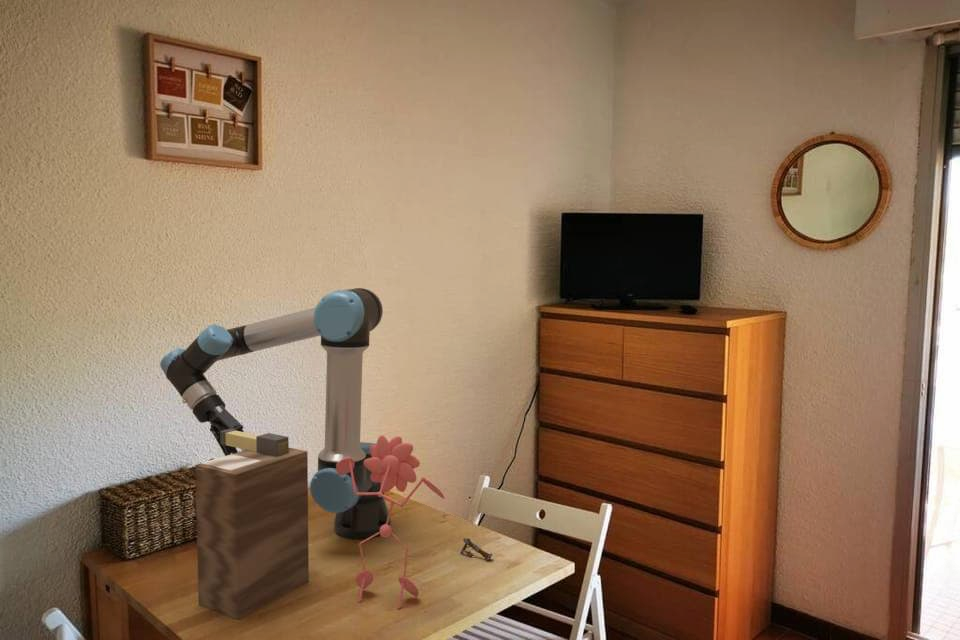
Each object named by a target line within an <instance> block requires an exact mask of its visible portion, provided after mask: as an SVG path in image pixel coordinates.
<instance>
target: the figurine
mask: <svg viewBox="0 0 960 640" xmlns="http://www.w3.org/2000/svg"><path fill="white" fill-rule="evenodd" d="M376 444H377V445H371V446H370V454H371V456H372V458H368V459H366V460H364V465H365V467H366V468H367V469H368V470H370V471H371V472H372V473H371V476H370V478H371V480H372V481H373V482H381V485H380V487H381V489H380V492H372V493H356V486H355V480H354V474H353V468H354V466H355V463H354V460H353V459H352V458H351V457H348V458H343V459H342V460H340V461H339V462H338V463H337V465H336V471H337V473H338V475H339V476H341V475H344V474H346V473H349V472H351V478H352V484H353V490H354V493H355V495H377V496H378V497H383V498H384V499H385V501H386V500H387V501H388V502H390V507H389V509H388V512H389V514H388V518H387V522H386V524H385V525H383V526H381V528H380V531H379V532H378V533H376V534H375V535H373V536H371V537H369V538H365V539H364V540H362V541H361V542H359V551H360V557H361V563H362V568H363V571H362V570H361V571H360V572H358V574H357V575H356V577H355V584H356V585H357V586H358V587H359V588H360V591H359V596H358V603H359V602H360V603H361V602H362V598H363V592H364V590H365V589H367V588H368V587H369V586H371V584H372V583H373V581H374V578H376V577H377V578H378V577H379V575H373V573H372V572H371V571H370V570H366V566H365V561H364V555H363V549H362V544H363V543H365V542H367V541H369V540H371V539H372V538H375V537H374V536H376V535H378V534H380V535H379V536H381V537H382V538H389V537H391V535H392V536H393V537H394V538H395V539H396V540H397V541H398V542H399V543H400V545H402V546H403V547H404V549H405V556H404V568H403V569H404V571H403V575H400V574H399V575H397V576H398V578H397V581H398V583H399V584H400V591H399V596H398V601H397V609H401V604H402V597H403V592H404V590H405V591H406V592H408V593H409V594H410V595H413V596H414V597H416V598H418V596H419V588H418V587H417V585H415V583H413V581H417V582H419V583H422V584H423V582H422V581H420V580H418V579H414V578H411V577H406V574H407V563H408V552H409V551H408V550H409V549H408V547H407V546H406V545H405V544H404V543H403V542H402V540H401V539H400V538H398V537H397V535H396V534H395V533H393V529H392V526H391V527H390V526H389V525H388V521H389V518H391V516H392V515H391V514H392V511H393V508H394V505H397V506H399V507H401V508H403V506H404V505H405V504H406V503H407V502H408V500H409V499H410V498H411V497H412V495H413V494H414V493H415V492H416V491H417V489H418V488H419V487H420V486H421V485H422V484H423V483H424V484H425V486H427V488H429V489H430V490H431V491H432V492H433V493H435V495H437V496H438V497H440V498H441V499H443V500H445V495H444V493H443V492H442V491H441V490H440V489H439V488H438V487H437V486H436V485H435V484H433V483H432V482H431V481H429V479H427V478H426V477H425V476H422V477H421V478H420V480H419V481H418V483H417V484H416V485H415V486H414V487H413V489H412V490H411V491H410V492H409V494H408V495H407V496H406V497H405V499H404V500H403V501H402V503H401V502H399V501H397V500H395V499H393V498H391V497H389V496H387V495H386V494H384V495H383V494H382V491H383V492H384V493H388V492H389V491H391V490H393V488H394V487H395V489H396V490H397V491H398V492H400V493H401V492H402V493H404V492H406V489H407V487H408V483H411V484H412V483H413V484H414V483H416V482H417V475H416V472H415V470H414V469H416V468H417V469H418V467H420V465H421V462H420V460H419V459H418V458H417V457H416V456H414V455H412V453H413V452H414V446H413V444H412V443H410V442H403V438H402V436H401V435H398V436H394V437H393V438H392V439H390V440H388V439H387V437H386V436H385V435H383V434H382V435H379V437H378V438H377V441H376ZM376 537H377V536H376ZM412 580H413V581H412ZM426 612H428V610H426V611H424V612H423V613H422V614H424V613H426Z"/></svg>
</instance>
